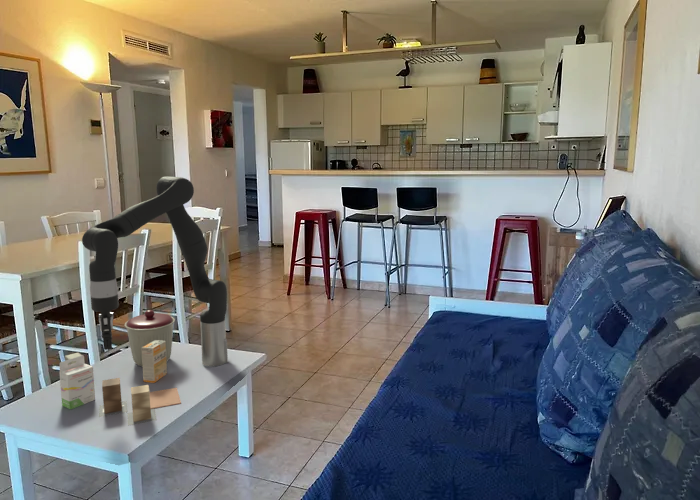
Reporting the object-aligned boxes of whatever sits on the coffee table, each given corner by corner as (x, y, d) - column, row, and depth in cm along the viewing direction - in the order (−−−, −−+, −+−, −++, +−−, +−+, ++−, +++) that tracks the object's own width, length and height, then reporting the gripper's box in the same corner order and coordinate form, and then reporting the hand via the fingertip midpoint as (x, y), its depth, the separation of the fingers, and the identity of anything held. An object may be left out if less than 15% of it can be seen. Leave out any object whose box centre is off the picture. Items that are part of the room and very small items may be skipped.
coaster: (176, 388, 174) (176, 387, 174) (181, 403, 163) (181, 402, 163) (139, 395, 169) (139, 393, 169) (141, 411, 158) (141, 409, 158)
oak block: (150, 411, 158) (148, 384, 156) (151, 418, 153) (149, 391, 152) (132, 414, 156) (130, 387, 154) (133, 422, 151) (131, 394, 150)
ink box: (70, 410, 158) (66, 366, 156) (61, 406, 161) (57, 362, 158) (96, 399, 165) (92, 357, 163) (87, 395, 168) (84, 354, 165)
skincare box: (88, 390, 172) (85, 356, 170) (74, 394, 169) (71, 360, 167) (81, 384, 176) (78, 351, 174) (67, 388, 173) (64, 355, 171)
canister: (164, 372, 187) (160, 318, 183) (117, 370, 188) (113, 316, 184) (184, 354, 204) (182, 304, 200) (142, 352, 206) (138, 302, 202)
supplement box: (155, 383, 178) (153, 348, 175) (143, 382, 178) (140, 347, 176) (168, 374, 185) (166, 340, 183) (156, 372, 186) (154, 339, 184)
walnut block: (121, 403, 162) (119, 377, 161) (122, 410, 158) (119, 383, 156) (104, 406, 160) (102, 380, 159) (104, 413, 156) (102, 386, 154)
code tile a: (126, 401, 164) (126, 400, 164) (127, 412, 157) (127, 411, 157) (99, 405, 161) (99, 405, 161) (98, 417, 154) (98, 417, 154)
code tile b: (154, 408, 160) (154, 408, 160) (156, 420, 153) (156, 420, 153) (127, 413, 156) (127, 413, 156) (128, 425, 149) (128, 425, 149)
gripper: (118, 298, 148) (121, 350, 151) (117, 287, 160) (121, 335, 163) (89, 301, 145) (93, 354, 147) (91, 289, 157) (95, 338, 160)
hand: (108, 344), depth 155 cm, fingers open, 8 cm apart
